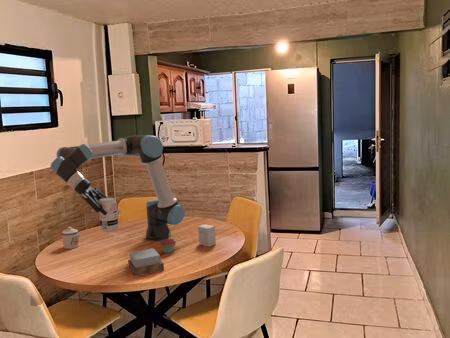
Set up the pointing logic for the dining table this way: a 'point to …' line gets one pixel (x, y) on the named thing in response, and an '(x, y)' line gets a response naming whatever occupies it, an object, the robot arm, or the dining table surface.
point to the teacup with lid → (70, 238)
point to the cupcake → (167, 244)
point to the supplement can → (112, 208)
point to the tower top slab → (144, 258)
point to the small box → (206, 235)
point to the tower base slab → (146, 268)
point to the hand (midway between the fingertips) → (115, 216)
